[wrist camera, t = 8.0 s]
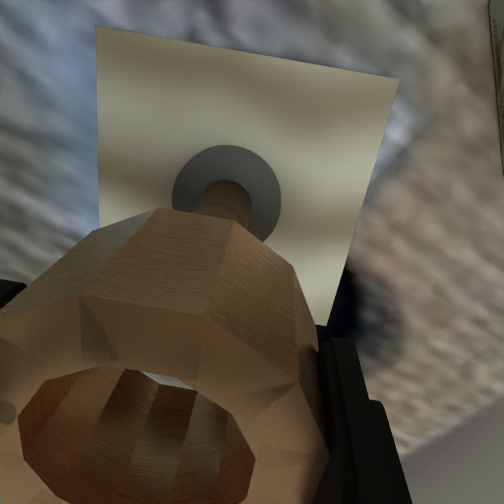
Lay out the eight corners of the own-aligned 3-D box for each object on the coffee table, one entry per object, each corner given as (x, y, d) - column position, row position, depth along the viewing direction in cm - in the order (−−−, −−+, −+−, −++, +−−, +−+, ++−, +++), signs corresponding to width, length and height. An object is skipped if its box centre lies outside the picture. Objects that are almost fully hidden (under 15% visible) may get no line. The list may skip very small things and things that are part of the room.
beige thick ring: (53, 188, 9) (-90, 263, 6) (339, 238, 9) (374, 345, 6) (67, 398, 12) (-21, 533, 9) (283, 436, 12) (283, 587, 9)
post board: (113, 29, 19) (-160, -27, 7) (389, 78, 19) (560, 101, 8) (113, 271, 26) (-35, 454, 14) (323, 307, 26) (358, 520, 14)
